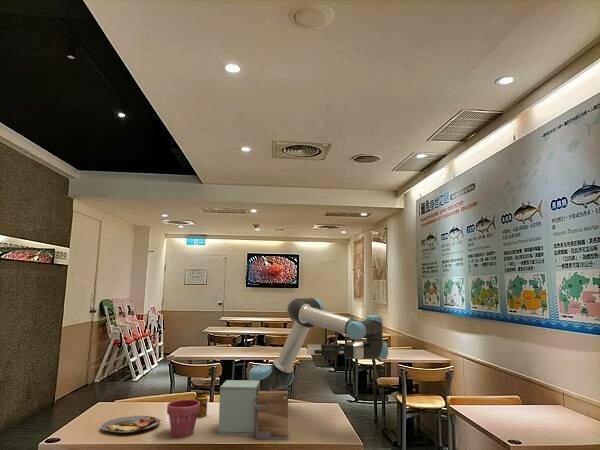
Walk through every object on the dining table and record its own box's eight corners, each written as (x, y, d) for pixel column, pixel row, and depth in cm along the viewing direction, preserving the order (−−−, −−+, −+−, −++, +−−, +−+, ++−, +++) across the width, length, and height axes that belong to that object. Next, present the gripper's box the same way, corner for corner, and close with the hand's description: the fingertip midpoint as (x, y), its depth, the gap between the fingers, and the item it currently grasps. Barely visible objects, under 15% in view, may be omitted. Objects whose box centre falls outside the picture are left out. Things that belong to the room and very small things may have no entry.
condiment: (209, 417, 209) (210, 391, 211) (192, 419, 204) (194, 393, 206) (204, 413, 215) (205, 389, 217) (188, 416, 210) (189, 390, 212)
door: (258, 434, 182) (259, 390, 185) (287, 434, 182) (288, 391, 185) (256, 437, 178) (257, 393, 181) (287, 438, 178) (287, 393, 180)
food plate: (169, 422, 198) (170, 414, 199) (136, 439, 177) (136, 430, 177) (127, 418, 206) (127, 411, 207) (89, 434, 185) (90, 425, 185)
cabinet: (225, 424, 197) (226, 380, 200) (290, 425, 196) (291, 381, 199) (215, 438, 178) (217, 389, 181) (287, 440, 177) (288, 390, 180)
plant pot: (162, 431, 187) (164, 401, 189) (193, 426, 193) (195, 397, 195) (169, 441, 174) (171, 408, 176) (202, 436, 181) (204, 404, 183)
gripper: (356, 363, 179) (306, 362, 179) (351, 354, 203) (307, 353, 204) (355, 345, 180) (306, 344, 181) (351, 338, 204) (307, 338, 205)
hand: (307, 349), depth 192 cm, fingers open, 13 cm apart
